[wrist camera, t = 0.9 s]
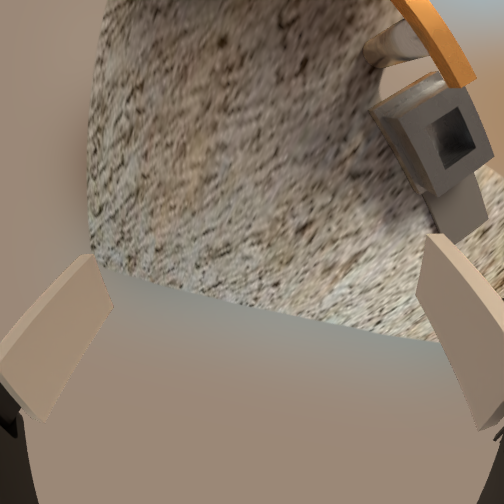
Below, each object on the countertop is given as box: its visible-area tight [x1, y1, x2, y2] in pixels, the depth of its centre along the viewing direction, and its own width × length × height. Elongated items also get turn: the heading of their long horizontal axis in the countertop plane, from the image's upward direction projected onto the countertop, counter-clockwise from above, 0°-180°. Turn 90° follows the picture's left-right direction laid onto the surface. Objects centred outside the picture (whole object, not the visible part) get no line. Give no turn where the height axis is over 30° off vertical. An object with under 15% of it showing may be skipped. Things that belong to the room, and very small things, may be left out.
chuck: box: [368, 71, 494, 197], centre depth 26 cm, size 11×10×6 cm
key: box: [363, 0, 477, 88], centre depth 19 cm, size 9×4×14 cm, turn 38°
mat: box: [422, 172, 488, 245], centre depth 31 cm, size 10×8×1 cm
